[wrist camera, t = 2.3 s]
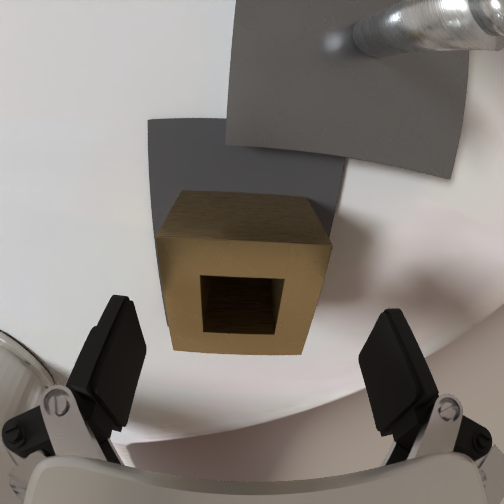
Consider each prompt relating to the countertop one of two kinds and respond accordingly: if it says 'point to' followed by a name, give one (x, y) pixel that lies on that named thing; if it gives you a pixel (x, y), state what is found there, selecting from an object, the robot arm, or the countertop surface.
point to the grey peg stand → (357, 76)
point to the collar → (241, 271)
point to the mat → (233, 169)
